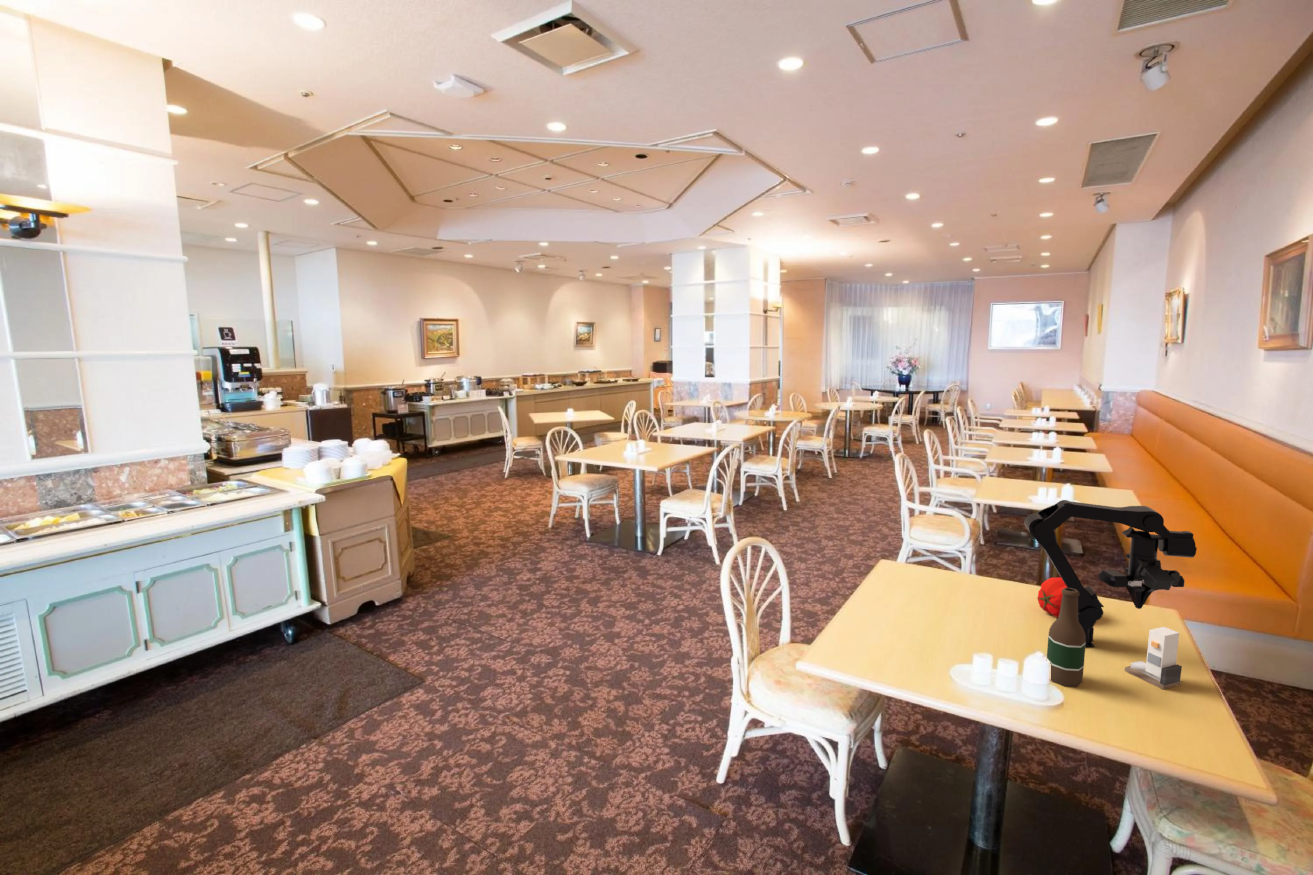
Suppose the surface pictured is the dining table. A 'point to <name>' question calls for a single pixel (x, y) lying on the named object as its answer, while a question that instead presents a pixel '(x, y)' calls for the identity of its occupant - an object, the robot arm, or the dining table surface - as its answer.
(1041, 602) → the tomato
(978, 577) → the dining table surface
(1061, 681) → the beer bottle
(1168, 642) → the switch module
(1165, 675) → the rail board
